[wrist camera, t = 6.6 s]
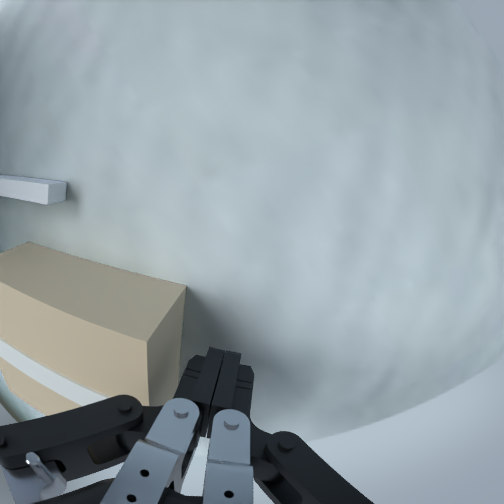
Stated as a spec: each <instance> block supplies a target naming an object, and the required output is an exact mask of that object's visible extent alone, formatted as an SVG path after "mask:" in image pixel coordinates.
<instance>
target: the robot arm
mask: <svg viewBox="0 0 504 504" xmlns="http://www.w3.org/2000/svg"><path fill="white" fill-rule="evenodd" d="M224 354H225V356H224ZM240 358H241V354H240V353H235V352H230V351H226V352H225V350H220V349H216V348H211V347H209V350H208V353H207V355H206V357H203V356H199V355H195V356H194V357H193V358H192V359H190V360H189V362H188V364H187V366H186V369H185V371H184V373H183V376H182V378H181V380H180V383H179V385H178V387H177V390H176V392H175V394H174V397H173V399H171V400H169V401H167V402H166V403H165V405H162V406H142V404H141V403H140V401H139V400H138V399H137V398H135V397H133V396H130V395H125V394H122V395H117V396H114V397H111V398H107V399H104V400H101V401H98V402H95V403H92V404H88V405H85V406H82V407H78V408H75V409H71V410H68V411H64V412H60V413H57V414H53V415H49V416H45V417H41V418H37V419H32V420H28V421H24V422H19V423H14V424H9V425H4V426H0V465H1V466H2V469H3V472H4V475H5V478H6V481H7V483H8V486H9V488H10V491H11V494H12V496H13V499H14V501H15V504H253V478H254V480H255V482H256V483H257V484H258V485H259V486H260V488H261V489H262V490H263V491H264V492H265V493H266V495H267V496H268V497H269V498H270V499H271V500H272V501H273V502H274V503H275V504H374V503H373V502H371V501H370V500H369V499H367V497H365V496H364V495H363V494H362V493H360V492H359V491H358V490H357V489H356V488H354V487H353V486H352V485H351V484H350V483H348V482H347V481H346V480H345V479H344V478H343V477H341V476H340V475H339V474H338V473H337V472H336V471H335V470H334V469H333V468H331V467H330V466H329V465H328V464H327V463H326V462H325V461H324V460H323V459H322V458H320V457H319V456H318V455H317V454H316V453H315V452H314V451H313V450H312V449H311V448H310V447H309V446H308V445H307V444H306V443H305V442H304V441H303V440H302V439H301V438H300V437H299V436H297V435H296V434H294V433H291V432H287V431H280V432H276V433H274V434H269V433H267V432H264V431H262V430H260V429H259V428H257V427H256V426H255V425H254V424H253V423H252V421H251V419H250V408H251V399H252V389H253V381H254V373H253V371H252V369H251V366H246V365H241V364H240ZM223 359H224V360H223ZM208 425H209V426H208ZM207 429H208V433H207ZM206 433H207V438H210V443H209V449H208V456H207V464H206V471H205V479H204V488H203V494H202V496H185V495H182V494H180V492H181V488H182V484H183V481H184V479H185V476H186V474H187V471H188V468H189V466H190V463H191V461H192V458H193V456H194V453H195V450H196V447H197V445H198V442H199V438H200V436H201V437H205V436H206ZM122 462H124V464H123V466H122V467H121V469H120V471H119V472H118V474H117V476H116V478H111V479H106V480H102V481H99V482H96V483H94V484H91V485H88V486H86V487H83V488H80V489H78V490H75V491H72V492H69V493H66V494H63V495H60V494H62V493H63V491H65V489H66V485H67V481H71V480H74V479H77V478H80V477H84V476H87V475H90V474H92V473H96V472H98V471H101V470H104V469H107V468H109V467H112V466H115V465H117V464H120V463H122ZM58 495H59V496H58Z"/></svg>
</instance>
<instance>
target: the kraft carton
mask: <svg viewBox="0 0 504 504" xmlns="http://www.w3.org/2000/svg"><path fill="white" fill-rule="evenodd" d="M186 287H187V286H186V285H182V284H177V283H173V282H169V281H165V280H161V279H157V278H153V277H149V276H145V275H141V274H137V273H134V272H130V271H126V270H122V269H118V268H115V267H111V266H108V265H104V264H100V263H97V262H93V261H90V260H86V259H83V258H79V257H76V256H73V255H69V254H66V253H63V252H59V251H56V250H53V249H50V248H46V247H43V246H40V245H37V244H34V243H31V242H26V243H24V244H21V245H19V246H17V247H14V248H12V249H9V250H7V251H5V252H2V253H0V369H1V371H2V374H3V376H4V378H5V381H6V383H7V385H8V388H9V390H10V391H11V392H12V393H13V394H15V395H16V396H17V397H19V398H20V399H22V400H23V401H24V402H26V403H27V404H29V405H30V406H32V407H33V408H35V409H36V410H38V411H40V412H41V413H43V414H44V415H46V416H49V415H53V414H57V413H60V412H64V411H68V410H71V409H75V408H78V407H82V406H85V405H88V404H92V403H95V402H98V401H101V400H104V399H107V398H111V397H114V396H117V395H122V394H125V395H130V396H133V397H135V398H137V399H138V400H139V401H140V403H141V404H142V406H162V405H165V403H166V402H167V401H169V400H171V399H173V397H174V394H175V392H176V390H177V387H178V383H179V366H180V351H181V338H182V327H183V316H184V305H185V296H186Z"/></svg>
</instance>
